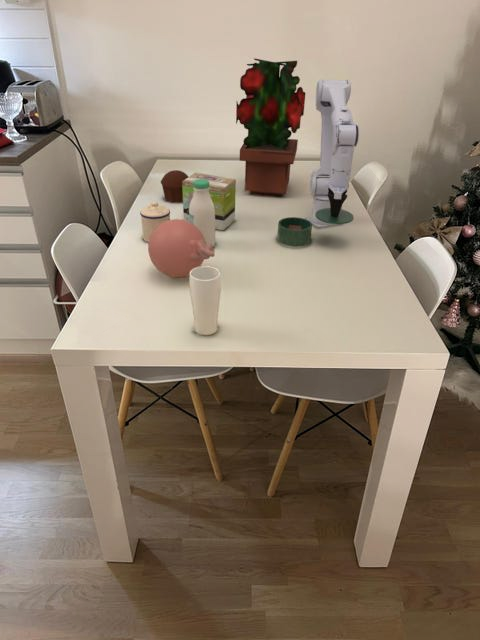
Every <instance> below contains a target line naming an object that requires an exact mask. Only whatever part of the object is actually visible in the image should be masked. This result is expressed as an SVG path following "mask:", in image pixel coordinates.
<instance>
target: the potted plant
mask: <svg viewBox="0 0 480 640" xmlns="http://www.w3.org/2000/svg"><path fill="white" fill-rule="evenodd" d="M253 60H254V61H257V62H253V63H246V66H249V67H248V68H246V70H245V73H243V74H242V75H241V76H240V80H239V83H240V84H239V88H240V90H242V91H244V94H245V96H246V97H245V98H242V99H240V101H239V103H238V101H236V108H235V109H236V111H235V113H236V114H235V115H236V116H235V120H236V121H235V125H237V124H238V121H239V124H240V125H242V126H243V128H244V129H245V130H247V136H245V137H244V138H243V144H242V145H241V147H240V148H239V162H245V166H244V167H245V169H244V191H245V192H250V195H255V196H266V197H279V198H280V197H282V195H283V194H284V195H286V194H287V191H288V187H289V183H290V175H291V165H294V163H295V159H296V156H297V151H298V144H299V143H298V142H299V141H298V139H294V138H291V137H292V133H293V134H296V133H297V131H298V130H300V129H301V118H302V117H303V116H305V115H304V113H305V104H306V92H305V91H304V89H303V87H302V86H299V87H297V85H299V83H300V82H301V79H300V76H298V75H295V76H293V73H294V71H295V68H296V67H297V65H298V60H287V61H286V60H285V61H270V60H265V59H261V58H260V59H259V58H253ZM250 66H251V67H250ZM281 66H282V68H281Z"/></svg>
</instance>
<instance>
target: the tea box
mask: <svg viewBox="0 0 480 640" xmlns="http://www.w3.org/2000/svg"><path fill="white" fill-rule="evenodd" d="M197 179H205V180H208V181H209V195H210V197H211V200H212V202H213V204H214V209H215V230H218V231H222V232H223V231H224V230H226V229H227V228H228V227H230V225H231V224H232V223H234V221H235V219H236V193H237V192H236V191H237V187H236V185H237V179H236V178H231V177H230V178H229V177H225V176H219V175H213V174H207V173H202V172H194V173H192V174H191V175H190V176H188V178H187V179H185V180H184V181H182V188H183V202H182V213H183V220H185V221H188V222H189V207H190V203H191V200H192V198H193V195H194V189H193V188H194V187H193V181H194V180H197Z"/></svg>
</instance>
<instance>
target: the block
mask: <svg viewBox="0 0 480 640" xmlns="http://www.w3.org/2000/svg"><path fill="white" fill-rule="evenodd" d="M288 229H292V230H302V226H296V225H289V228H288Z"/></svg>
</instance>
